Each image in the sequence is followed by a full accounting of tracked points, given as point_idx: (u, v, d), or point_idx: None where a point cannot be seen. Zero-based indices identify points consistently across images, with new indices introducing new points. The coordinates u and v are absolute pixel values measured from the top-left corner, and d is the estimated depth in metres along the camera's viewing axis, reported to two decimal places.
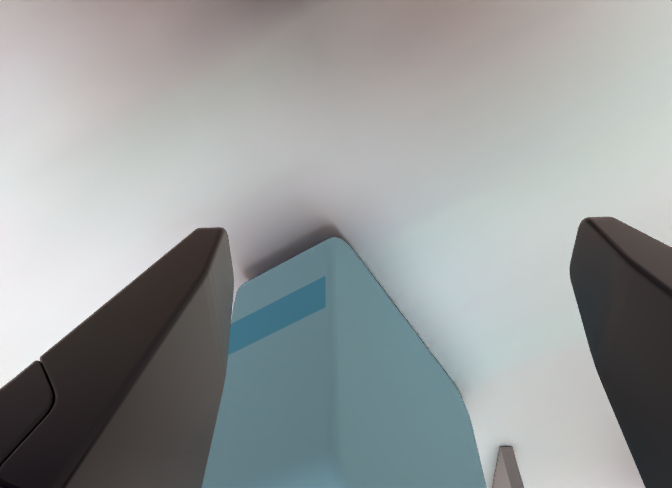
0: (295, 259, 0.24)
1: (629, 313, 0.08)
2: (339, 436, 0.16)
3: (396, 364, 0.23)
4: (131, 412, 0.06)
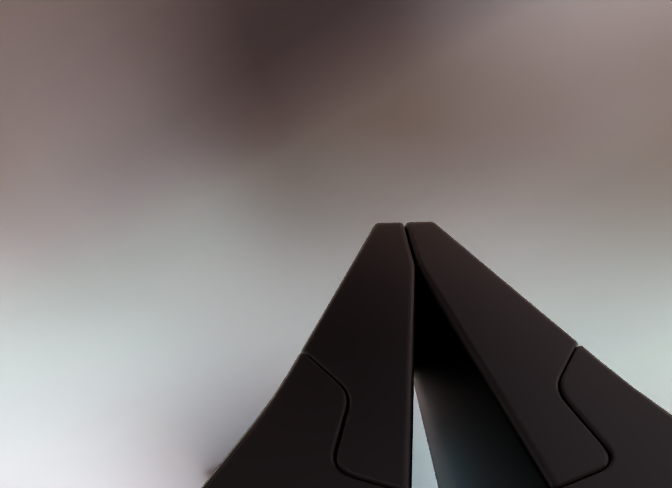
0: None
1: (422, 318, 0.08)
2: None
3: None
4: None
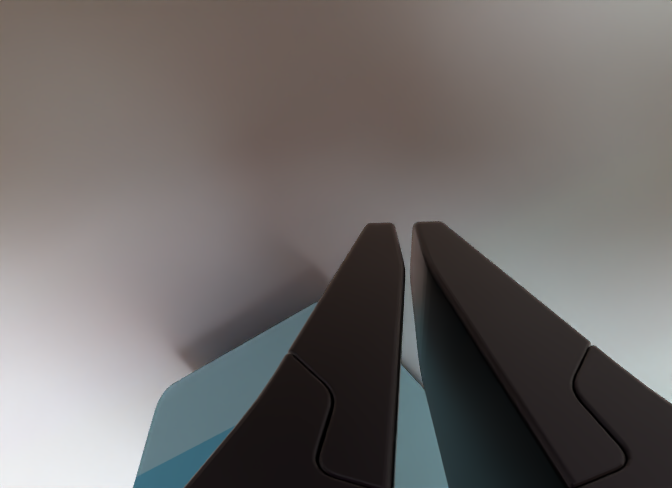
0: (252, 347, 0.13)
1: (432, 318, 0.08)
2: None
3: None
4: None
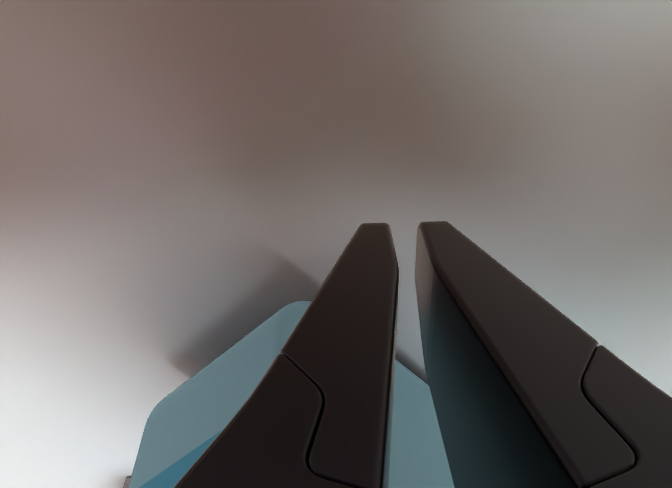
0: (228, 356, 0.13)
1: (438, 318, 0.08)
2: None
3: None
4: (389, 405, 0.06)
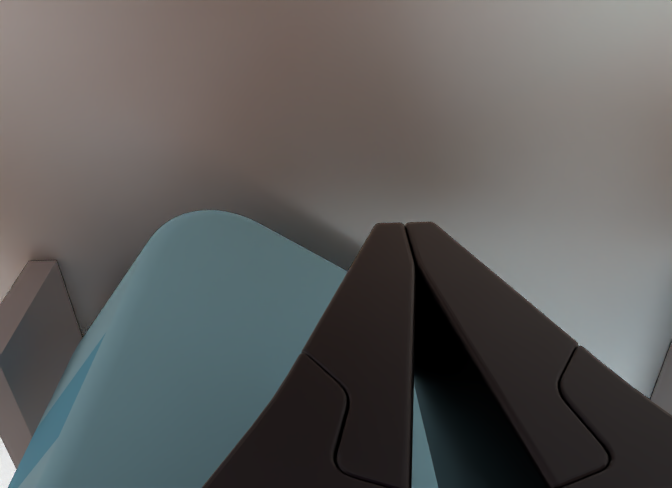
0: (122, 280, 0.12)
1: (421, 319, 0.08)
2: None
3: None
4: None
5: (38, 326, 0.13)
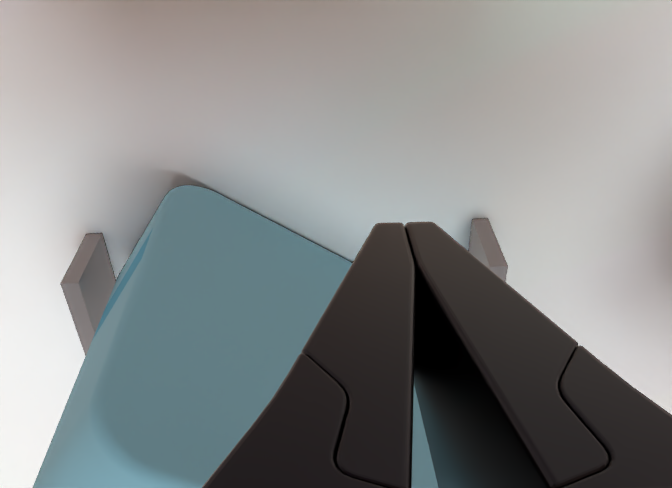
0: None
1: (422, 319, 0.08)
2: (108, 384, 0.15)
3: (275, 292, 0.21)
4: None
5: (94, 269, 0.23)
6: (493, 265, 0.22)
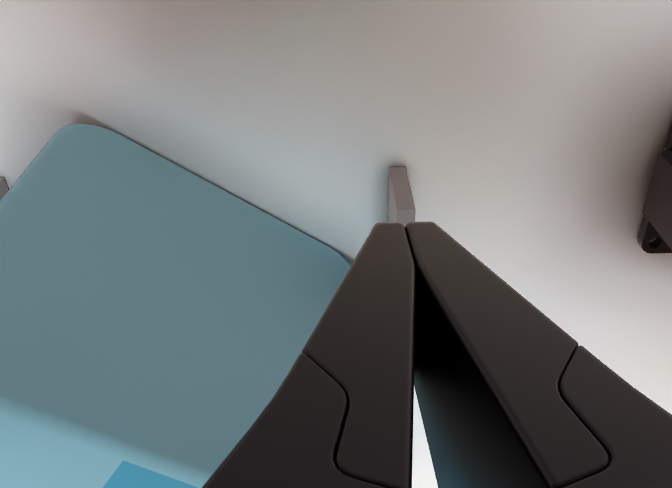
0: None
1: (422, 319, 0.08)
2: None
3: (165, 231, 0.20)
4: None
5: None
6: (400, 209, 0.21)
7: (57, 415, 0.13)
